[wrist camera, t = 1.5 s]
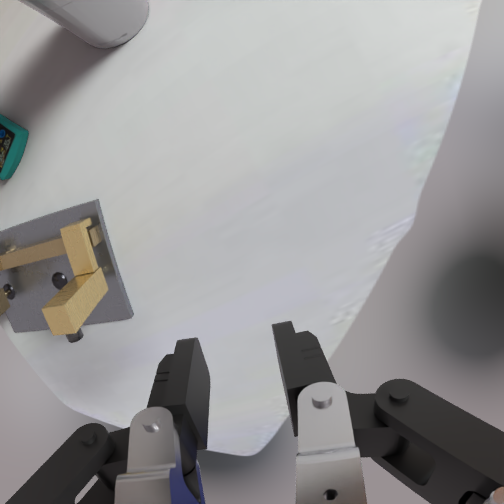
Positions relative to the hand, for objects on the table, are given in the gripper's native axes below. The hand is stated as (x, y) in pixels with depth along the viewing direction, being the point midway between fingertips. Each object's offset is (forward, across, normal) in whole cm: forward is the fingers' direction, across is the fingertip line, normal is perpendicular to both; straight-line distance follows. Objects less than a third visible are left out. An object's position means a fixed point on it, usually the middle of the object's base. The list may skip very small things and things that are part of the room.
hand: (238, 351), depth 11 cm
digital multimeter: (+28, +32, -19) cm, 47 cm away
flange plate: (+27, +28, +3) cm, 39 cm away
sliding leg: (+25, +18, +2) cm, 31 cm away
